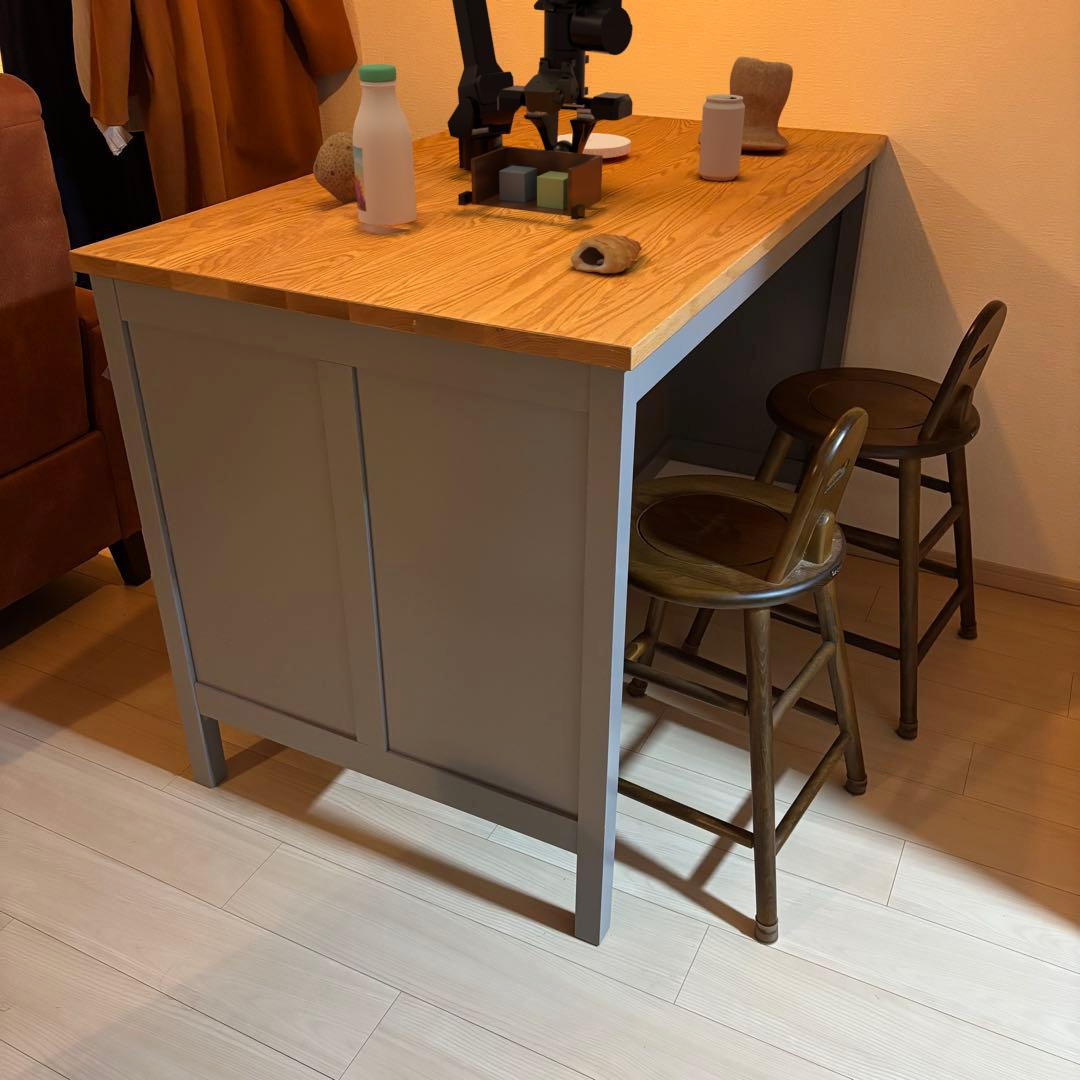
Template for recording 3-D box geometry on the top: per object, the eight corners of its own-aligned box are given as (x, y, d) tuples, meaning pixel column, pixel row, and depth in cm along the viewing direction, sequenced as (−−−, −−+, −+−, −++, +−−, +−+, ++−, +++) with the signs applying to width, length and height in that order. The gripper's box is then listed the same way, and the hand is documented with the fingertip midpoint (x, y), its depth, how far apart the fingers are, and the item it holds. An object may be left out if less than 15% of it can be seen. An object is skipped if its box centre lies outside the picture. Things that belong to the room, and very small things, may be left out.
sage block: (536, 206, 148) (536, 176, 146) (549, 200, 151) (549, 170, 149) (563, 209, 146) (563, 179, 144) (575, 203, 149) (575, 173, 147)
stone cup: (791, 145, 192) (801, 54, 185) (784, 158, 183) (795, 62, 175) (707, 140, 196) (714, 50, 188) (696, 152, 186) (703, 58, 179)
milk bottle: (426, 223, 145) (418, 63, 135) (402, 237, 139) (391, 71, 129) (375, 218, 148) (363, 60, 137) (349, 232, 141) (334, 68, 131)
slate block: (499, 200, 151) (498, 170, 149) (512, 194, 154) (512, 165, 152) (524, 203, 149) (524, 173, 147) (537, 197, 152) (537, 168, 150)
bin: (472, 212, 150) (470, 152, 146) (522, 189, 161) (521, 134, 157) (571, 225, 144) (572, 163, 140) (615, 200, 156) (617, 142, 152)
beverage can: (737, 182, 166) (745, 100, 160) (696, 180, 168) (702, 98, 161) (739, 174, 172) (746, 93, 166) (699, 172, 173) (705, 92, 167)
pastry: (607, 251, 134) (609, 220, 132) (655, 260, 131) (657, 229, 129) (566, 269, 127) (567, 236, 125) (614, 279, 124) (616, 246, 122)
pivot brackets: (455, 214, 150) (454, 193, 148) (463, 210, 151) (462, 190, 150) (581, 230, 142) (582, 209, 141) (588, 226, 144) (589, 205, 143)
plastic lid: (646, 158, 182) (647, 142, 181) (580, 168, 175) (580, 152, 174) (597, 145, 192) (597, 130, 191) (532, 153, 185) (532, 138, 184)
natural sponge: (305, 209, 152) (296, 135, 147) (336, 195, 159) (329, 124, 154) (362, 215, 149) (355, 139, 144) (391, 200, 156) (386, 128, 151)
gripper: (476, 51, 144) (480, 170, 152) (604, 58, 137) (600, 184, 145) (514, 42, 153) (515, 156, 161) (636, 49, 146) (631, 168, 154)
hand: (563, 166), depth 155 cm, fingers closed on bin, 3 cm apart
